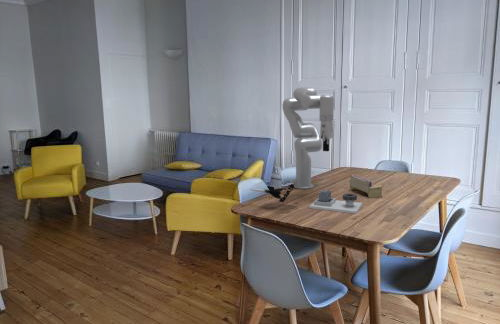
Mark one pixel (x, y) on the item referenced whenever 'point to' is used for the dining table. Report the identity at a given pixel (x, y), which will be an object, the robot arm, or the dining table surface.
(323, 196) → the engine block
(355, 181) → the toy sofa
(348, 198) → the wheel
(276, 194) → the rocket toy
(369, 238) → the dining table surface
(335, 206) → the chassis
